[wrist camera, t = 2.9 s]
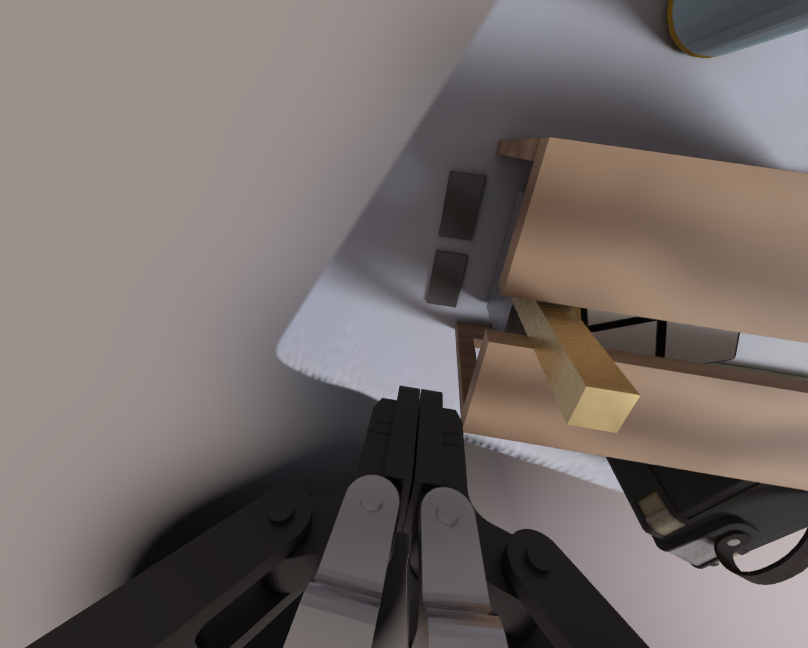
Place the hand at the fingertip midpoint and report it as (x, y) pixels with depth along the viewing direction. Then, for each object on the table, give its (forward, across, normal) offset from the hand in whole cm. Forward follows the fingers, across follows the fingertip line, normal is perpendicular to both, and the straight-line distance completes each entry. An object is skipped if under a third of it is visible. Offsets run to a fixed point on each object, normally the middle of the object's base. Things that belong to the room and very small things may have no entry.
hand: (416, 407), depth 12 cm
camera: (+23, -31, +18) cm, 43 cm away
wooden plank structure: (+22, -21, 0) cm, 31 cm away
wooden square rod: (+22, -7, 0) cm, 24 cm away
